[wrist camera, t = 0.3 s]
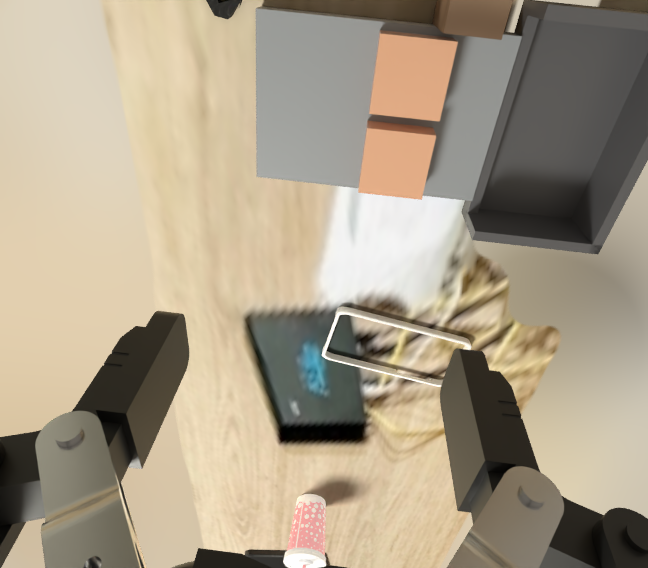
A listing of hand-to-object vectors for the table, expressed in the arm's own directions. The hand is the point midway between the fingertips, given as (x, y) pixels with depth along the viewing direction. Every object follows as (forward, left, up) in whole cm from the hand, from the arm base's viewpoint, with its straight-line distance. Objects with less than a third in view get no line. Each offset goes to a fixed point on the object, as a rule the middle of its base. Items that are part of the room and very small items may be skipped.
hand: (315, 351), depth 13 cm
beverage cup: (+59, +1, -27) cm, 65 cm away
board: (-1, +2, -27) cm, 27 cm away
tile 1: (-4, +4, -25) cm, 26 cm away
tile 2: (+2, +4, -25) cm, 26 cm away
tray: (-1, +16, -27) cm, 31 cm away
